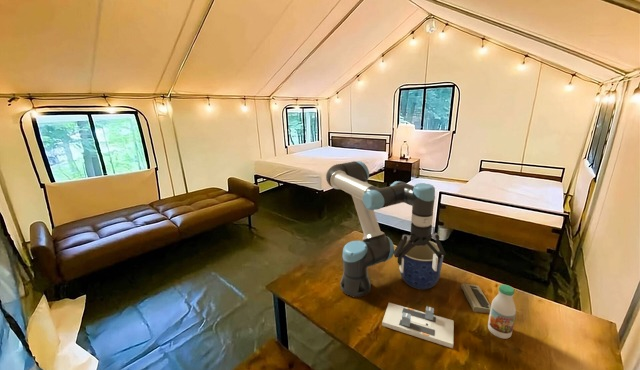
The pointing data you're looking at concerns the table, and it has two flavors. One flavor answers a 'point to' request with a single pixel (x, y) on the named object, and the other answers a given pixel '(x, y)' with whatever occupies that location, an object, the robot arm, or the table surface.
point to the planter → (421, 267)
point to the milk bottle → (502, 313)
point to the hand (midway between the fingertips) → (417, 270)
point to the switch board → (420, 325)
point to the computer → (476, 298)
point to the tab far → (429, 313)
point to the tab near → (406, 319)
